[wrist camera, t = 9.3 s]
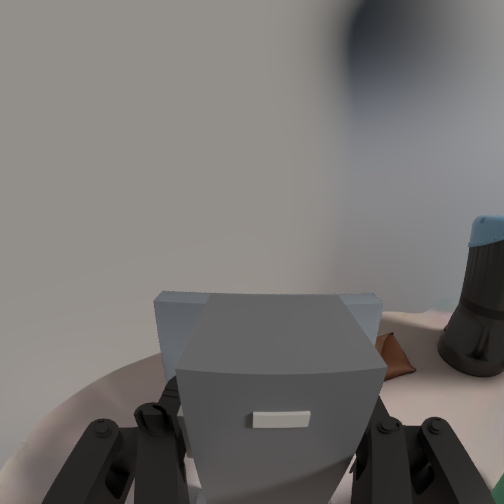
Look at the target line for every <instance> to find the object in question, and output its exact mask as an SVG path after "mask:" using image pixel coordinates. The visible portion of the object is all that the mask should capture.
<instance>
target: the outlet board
mask: <svg viewBox="0 0 504 504" xmlns="http://www.w3.org/2000/svg"><path fill="white" fill-rule="evenodd" d="M210 294H211V293H197V292H175V291H162V292H161V293H160V294H159V295H158V297H157V298H156V299H155V300H154V308H155V316H156V323H157V330H158V336H159V343H160V349H161V354H162V360H163V365H164V371H165V376H166V381H167V383H168V381H169V380H170V379H171V378H173V377H174V376H175V375H176V372H175V367H176V365H177V363H178V361H179V359H180V357H181V354H182V352H183V350H184V348H185V346H186V344H187V342H188V340H189V337H190V335H191V333H192V331H193V329H194V327H195V325H196V323H197V321H198V319H199V317H200V314H201V312H202V310H203V308H204V306H205V304H206V302H207V300H208V298H209V296H210ZM218 294H224V293H218ZM225 294H227V293H225ZM252 295H283V294H252ZM284 295H291V294H284ZM292 295H293V294H292ZM294 295H295V294H294ZM296 295H339V297H340V298H341V300H342V301H343V302H344V304H345V305H346V307H347V308H348V309H349V311H350V312H351V314H352V315H353V316H354V318H355V319H356V321H357V322H358V324H359V325H360V326H361V328H362V329H363V331H364V332H365V334H366V335H367V337H368V338H369V339H370V341H371V342H372V344H373V345H374V347H375V343H376V338H377V334H378V329H379V324H380V319H381V314H382V308H383V302H382V301H381V300H380V299H379V298H378V297H377V296H376V295H375V294H374V293H362V294H296ZM195 504H207V503H206V500H205V497H204V494H203V490H202V489H198V493H197V498H196V503H195ZM328 504H331V500H329V502H328Z"/></svg>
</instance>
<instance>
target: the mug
mask: <svg viewBox="0 0 504 504" xmlns="http://www.w3.org/2000/svg"><path fill="white" fill-rule="evenodd" d="M491 495H492V497H493V499H494V501H495V503H496V504H504V474H503V475H502V477H501V478H500V480H499V481H498V483H497V484H496V486H495V487H494V489H493V490H492V492H491Z"/></svg>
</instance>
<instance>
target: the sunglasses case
mask: <svg viewBox="0 0 504 504" xmlns="http://www.w3.org/2000/svg"><path fill="white" fill-rule="evenodd" d="M393 334H394V333H393V332H391V333H389V334H386V335H383V336H379V337H377V338H376V343H375V348H376V350H377V351H378V353H379V354H380V356H381V357H382V359H383V360H384V362H385V363H386V365H387V366H388V369H387V372H386V375H385V378H384V381H386V380H389V379H392V378H395V377H398V376H401V375H404V374H408V373H412V372H414V371H416V369H415V368H413V367H412V366H411V365H410V363H409V361H408V359H407V358H406V356H405V354H404V352H403V351H402V349H401V348H400V346H399V344H398V342H397V341H396V339H395V337H394V336H393ZM384 381H383V382H384Z"/></svg>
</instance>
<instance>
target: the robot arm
mask: <svg viewBox="0 0 504 504" xmlns="http://www.w3.org/2000/svg"><path fill="white" fill-rule="evenodd" d="M468 247H469V255H468V261H467V267H466V272H465V277H464V282H463V287H462V292H461V297H460V300H459V304H458V306H457V308H456V309H455V311H454V313H453V315H452V316H451V318H450V320H449V322H448V324H447V325H446V326H445V328H444V329H443V331H442V333H441V336H440V340H439V343H438V350H439V352H440V354H441V356H442V357H443V358H444V359H445V360H446V361H447V362H448V363H449V364H450V365H452V366H453V367H455V368H456V369H458V370H460V371H462V372H465V373H468V374H471V375H475V376H494V375H497V374H499V373H501V372H503V371H504V216H491V215H488V216H487V215H486V216H479V217H477V218H476V219H475V220H474V222H473V224H472V231H471V238H470V242H469V244H468ZM134 417H135V419H136V422H137V425H138V427H133V428H119V427H118V425H117V424H116V423H115V422H114V421H112V420H110V419H97V420H95V421H93V422H91V423H90V424H89V426H88V427H87V429H86V430H85V432H84V433H83V435H82V436H81V438H80V440H79V441H78V443H77V444H76V446H75V448H74V449H73V451H72V452H71V454H70V456H69V457H68V459H67V461H66V462H65V464H64V466H63V467H62V469H61V471H60V472H59V474H58V476H57V477H56V479H55V481H54V482H53V484H52V486H51V488H50V489H49V491H48V493H47V495H46V496H45V498H44V500H43V502H42V504H124V503H125V500H126V498H127V495H128V492H129V490H130V487H131V485H132V482H133V479H134V477H135V489H134V504H189V497H188V488H187V479H186V468H185V463H184V457H185V453H186V454H187V457H188V458H193V455H192V451H191V447H190V442H189V438H188V434H187V429H186V425H185V420H184V416H183V411H182V406H181V401H180V395H179V390H178V384H177V378H176V375H175V376H174V377H173V378H171V379H170V380H169V381H168V383H167V385H166V387H165V390H164V391H163V393H162V396H161V398H160V400H159V402H158V403H154V402H152V403H145V404H143V405H140V406H139V407H138V408H137V409H136V410H135V412H134ZM355 453H356V459H355V461H354V463H353V465H352V467H351V469H350V472H349V473H352V472H353V483H352V495H351V504H496V503H495V501H494V499H493V497H492V495H491V493H490V491H489V489H488V488H487V486H486V484H485V482H484V480H483V479H482V477H481V475H480V473H479V472H478V470H477V468H476V466H475V465H474V463H473V461H472V460H471V458H470V456H469V455H468V453H467V452H466V450H465V448H464V447H463V445H462V444H461V442H460V440H459V439H458V437H457V436H456V434H455V433H454V431H453V429H452V428H451V426H450V425H449V423H448V422H447V421H446V420H444V419H442V418H439V417H430V418H428V419H426V420H425V421H424V422H423V423H422V425H421V426H406V425H402V423H401V422H400V421H399V420H398V419H396V418H394V417H390V416H389V414H388V412H387V410H386V408H385V406H384V404H383V402H382V400H381V398H380V396H378V399H377V401H376V404H375V407H374V410H373V412H372V415H371V417H370V420H369V422H368V425H367V427H366V429H365V432H364V434H363V436H362V439H361V441H360V443H359V445H358V448H357V450H356V452H355ZM193 459H194V458H193Z"/></svg>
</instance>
